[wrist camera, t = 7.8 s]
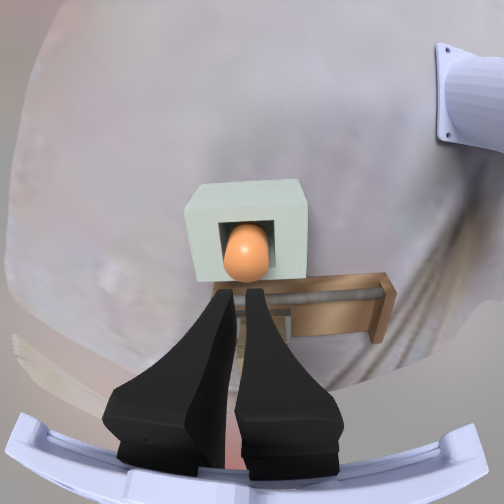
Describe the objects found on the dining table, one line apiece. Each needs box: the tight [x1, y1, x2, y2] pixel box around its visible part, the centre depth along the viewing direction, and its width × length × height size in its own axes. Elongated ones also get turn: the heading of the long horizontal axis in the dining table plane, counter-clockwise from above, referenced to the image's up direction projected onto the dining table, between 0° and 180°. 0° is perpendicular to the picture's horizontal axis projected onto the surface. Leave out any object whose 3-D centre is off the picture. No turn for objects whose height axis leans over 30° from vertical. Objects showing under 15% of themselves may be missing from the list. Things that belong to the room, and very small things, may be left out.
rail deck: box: [211, 273, 397, 344], centre depth 24 cm, size 15×6×3 cm, turn 94°
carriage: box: [236, 308, 291, 379], centre depth 23 cm, size 5×4×5 cm
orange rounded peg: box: [224, 221, 269, 283], centre depth 17 cm, size 2×2×3 cm
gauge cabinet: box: [183, 179, 308, 282], centre depth 19 cm, size 7×5×5 cm
